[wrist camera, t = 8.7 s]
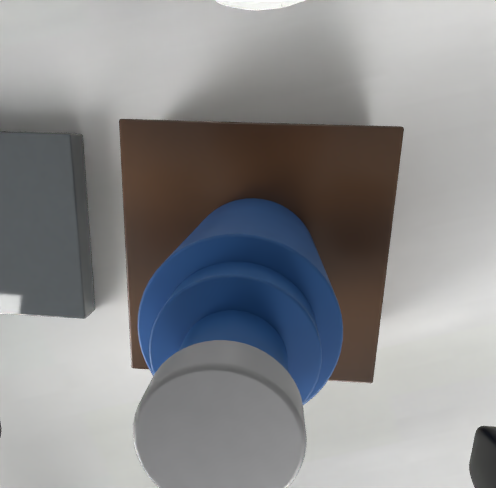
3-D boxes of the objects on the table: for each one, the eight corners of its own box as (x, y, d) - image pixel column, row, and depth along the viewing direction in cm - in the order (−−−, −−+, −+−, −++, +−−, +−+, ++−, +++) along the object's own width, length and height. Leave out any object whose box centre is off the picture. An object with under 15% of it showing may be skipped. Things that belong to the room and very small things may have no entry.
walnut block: (351, 332, 20) (373, 384, 16) (160, 321, 21) (130, 368, 16) (372, 131, 18) (404, 126, 13) (155, 125, 18) (118, 118, 14)
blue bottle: (311, 322, 15) (366, 582, 6) (190, 315, 16) (72, 556, 6) (320, 200, 14) (405, 300, 5) (189, 195, 14) (42, 281, 5)
